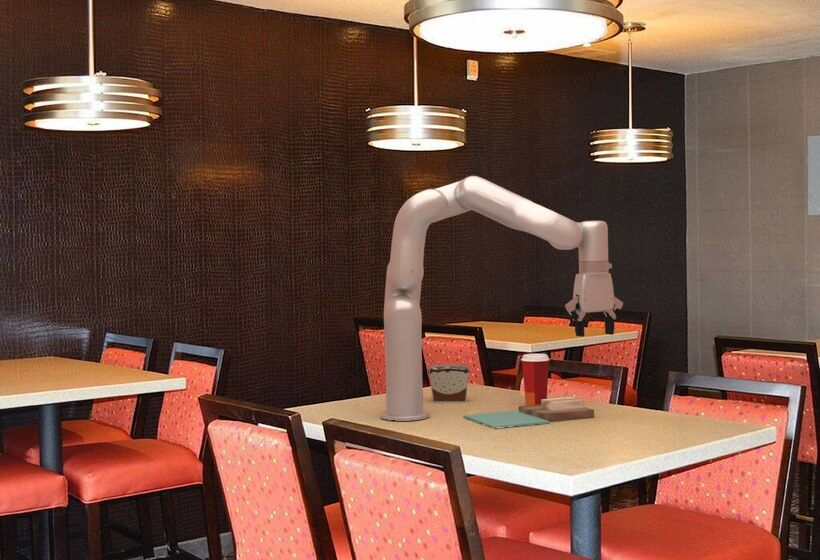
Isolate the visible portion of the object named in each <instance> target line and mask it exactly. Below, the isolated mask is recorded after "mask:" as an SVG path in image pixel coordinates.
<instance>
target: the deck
mask: <svg viewBox="0 0 820 560" xmlns="http://www.w3.org/2000/svg"><path fill="white" fill-rule="evenodd" d="M518 412H521V413H525V414H528V415H531V416H534V417H538V418H541V419H544V420H547V421H550V423H552V422H554V423H555V422H561V421H563V422H564V421H572V420H584V419H594V418H595V409H593V408H589V407H585V406H584V408H575V409H564V410H554V411H553V410H550V409H546V408H543V407H542V404H540V405H529V406H526V405H521V406H518Z"/></svg>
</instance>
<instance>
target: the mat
mask: <svg viewBox="0 0 820 560" xmlns="http://www.w3.org/2000/svg"><path fill="white" fill-rule="evenodd" d="M463 419H465V420H469V421H471V420H472V421H471V422H474V421H475V422H474V423H476V422H478V423H477V424H479V423H482V424H485V425H488V426H491V427H494V428H497V427H509V426H521V427H523V426H522V425H531V426H536V425H535V424H541V425H549V424H550V423H551V422H550V421H547V420H544V419H541V418H538V417H534V416H531V415H528V414H525V413H521V412H519V410H509V411H498V412H489V413H487V412H486V413H478V414H477V413H476V414H466V415H463ZM482 424H481V425H482ZM485 425H484V426H485ZM488 426H487V427H488Z"/></svg>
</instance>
